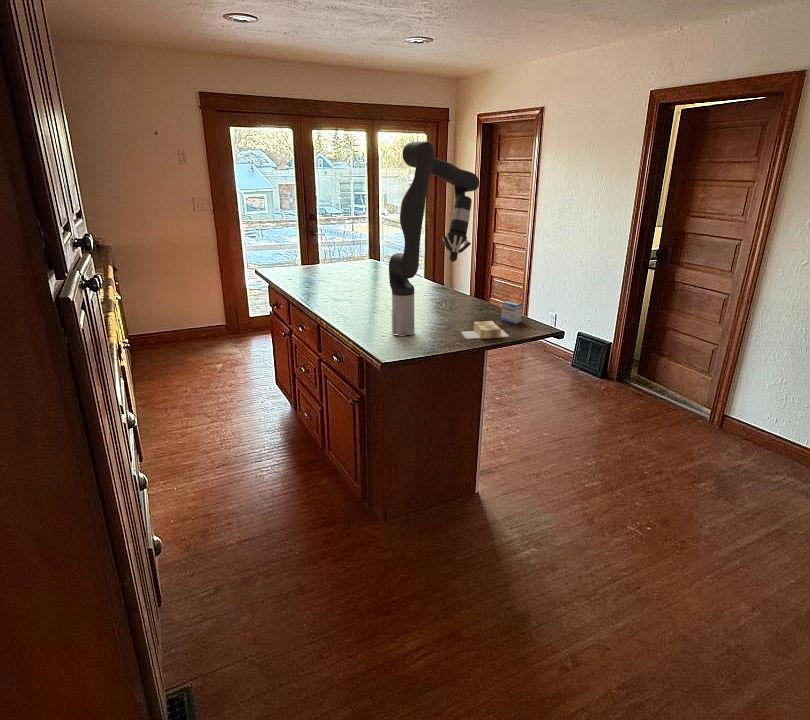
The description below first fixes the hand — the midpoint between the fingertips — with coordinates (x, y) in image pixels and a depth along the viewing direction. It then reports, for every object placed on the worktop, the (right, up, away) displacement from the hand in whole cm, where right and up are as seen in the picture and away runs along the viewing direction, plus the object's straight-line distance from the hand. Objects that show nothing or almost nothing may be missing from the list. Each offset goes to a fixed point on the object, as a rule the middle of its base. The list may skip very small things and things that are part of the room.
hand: (452, 261), depth 221 cm
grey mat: (+13, -32, -6) cm, 35 cm away
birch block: (+13, -27, 0) cm, 30 cm away
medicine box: (+27, -25, +12) cm, 39 cm away
